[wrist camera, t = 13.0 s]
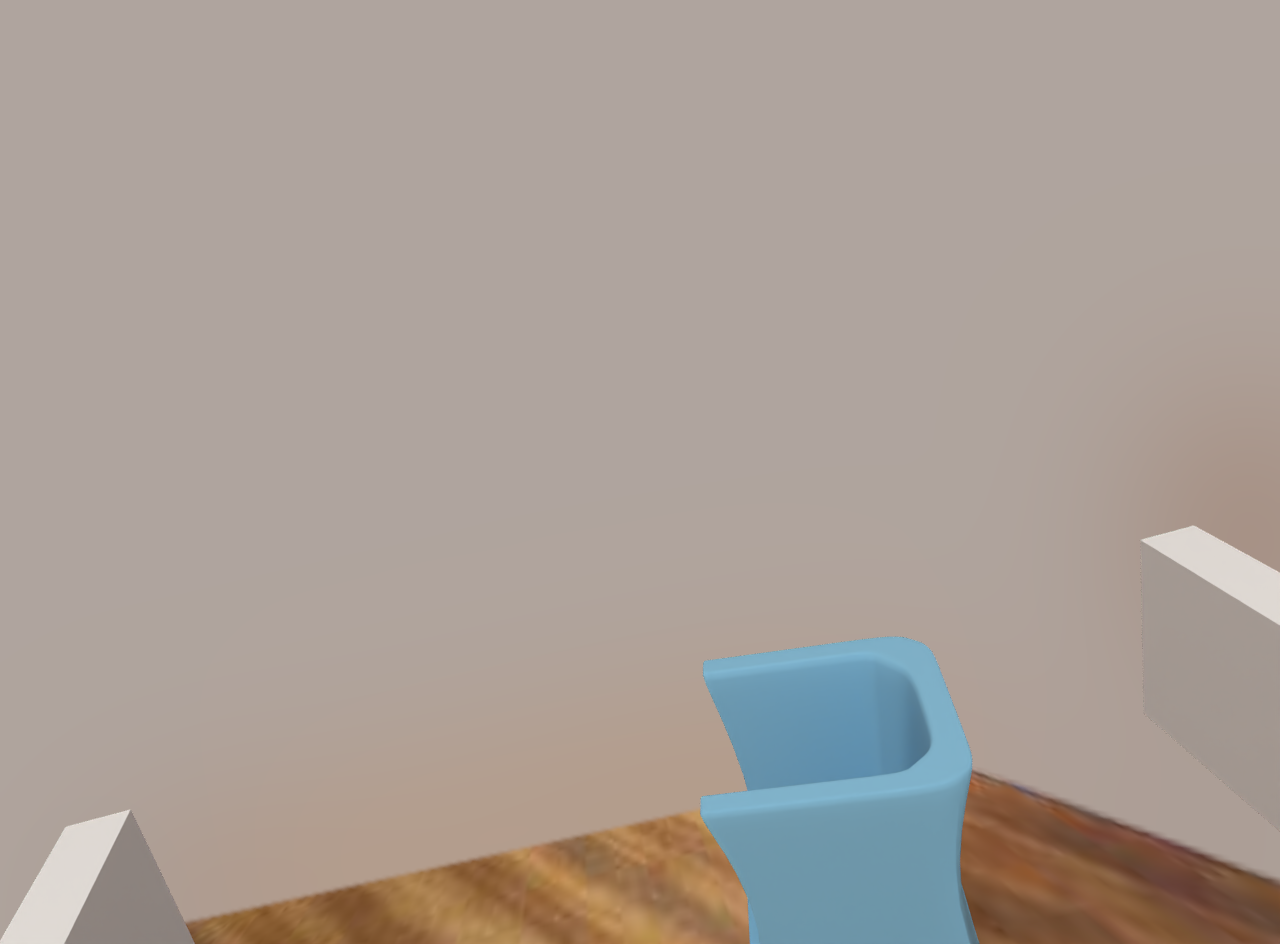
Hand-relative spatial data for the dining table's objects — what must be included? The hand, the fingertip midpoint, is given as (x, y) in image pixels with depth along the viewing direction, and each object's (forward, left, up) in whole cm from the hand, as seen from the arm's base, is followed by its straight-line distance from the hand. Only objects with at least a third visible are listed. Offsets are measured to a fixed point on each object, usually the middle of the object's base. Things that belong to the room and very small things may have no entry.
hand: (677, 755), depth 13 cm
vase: (-10, +12, -31) cm, 35 cm away
